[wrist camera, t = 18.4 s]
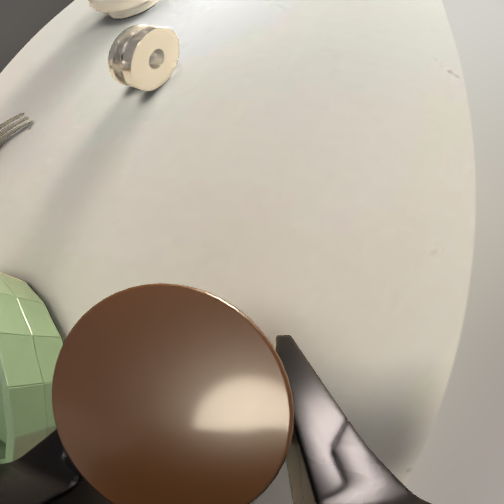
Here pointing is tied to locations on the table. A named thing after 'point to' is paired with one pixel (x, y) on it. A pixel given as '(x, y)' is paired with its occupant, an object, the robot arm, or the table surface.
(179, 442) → the brown stepped cylinder
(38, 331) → the bowl
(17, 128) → the fork
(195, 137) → the table surface
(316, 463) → the robot arm
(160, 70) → the metal grooved wheel
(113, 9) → the flower vase
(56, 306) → the table surface
